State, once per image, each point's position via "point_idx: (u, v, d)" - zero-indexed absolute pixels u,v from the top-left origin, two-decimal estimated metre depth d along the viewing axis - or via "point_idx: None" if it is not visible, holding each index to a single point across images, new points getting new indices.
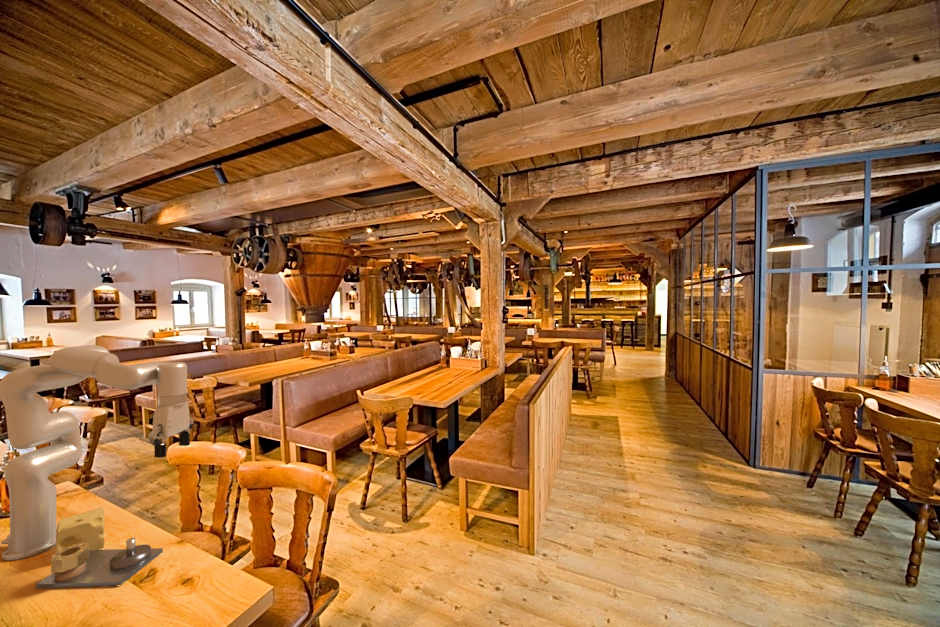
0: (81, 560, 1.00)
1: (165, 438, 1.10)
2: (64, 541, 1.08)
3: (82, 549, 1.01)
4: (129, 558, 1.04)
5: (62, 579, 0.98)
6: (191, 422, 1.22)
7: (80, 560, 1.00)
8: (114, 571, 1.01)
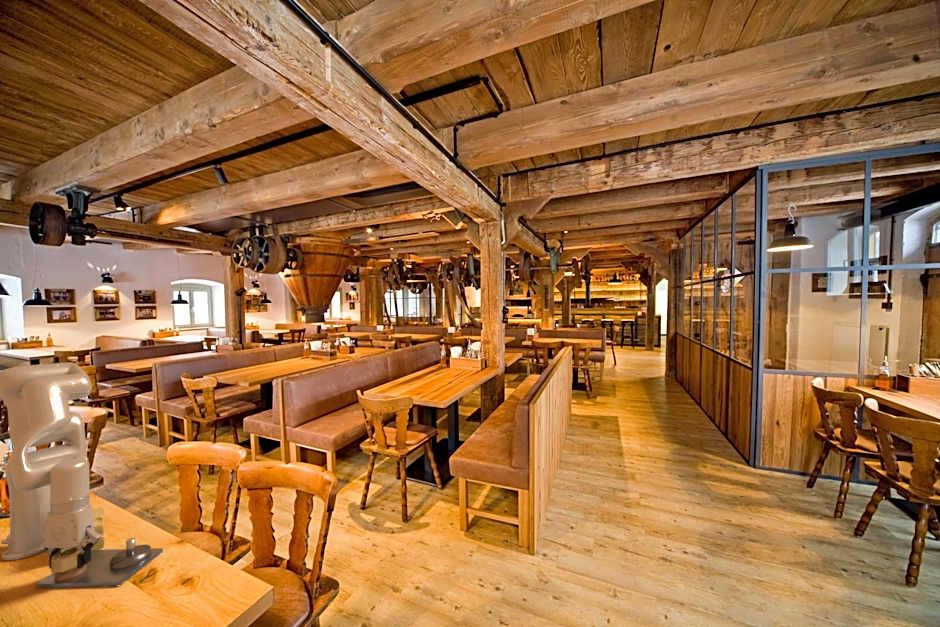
0: None
1: None
2: None
3: None
4: (129, 558, 1.04)
5: (62, 579, 0.98)
6: None
7: None
8: (114, 571, 1.01)
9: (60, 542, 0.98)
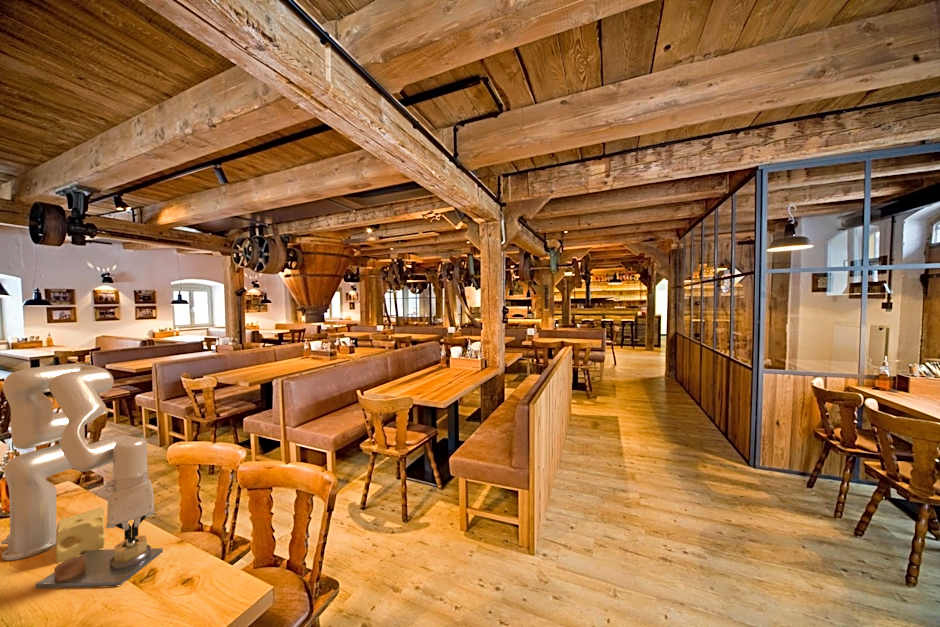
0: None
1: None
2: (64, 541, 1.08)
3: (142, 537, 1.09)
4: None
5: (62, 579, 0.98)
6: None
7: None
8: (114, 571, 1.01)
9: (133, 513, 1.05)
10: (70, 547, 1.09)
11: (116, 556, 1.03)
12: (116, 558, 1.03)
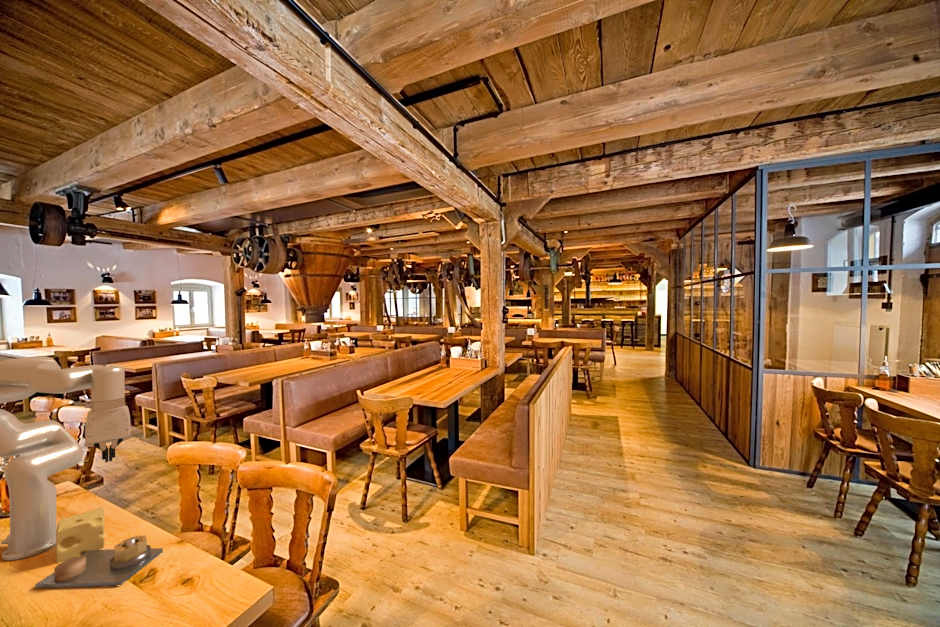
0: None
1: None
2: (64, 541, 1.08)
3: (142, 537, 1.09)
4: None
5: (62, 579, 0.98)
6: None
7: None
8: (114, 571, 1.01)
9: (110, 435, 1.11)
10: (70, 547, 1.09)
11: (116, 556, 1.03)
12: (116, 558, 1.03)
